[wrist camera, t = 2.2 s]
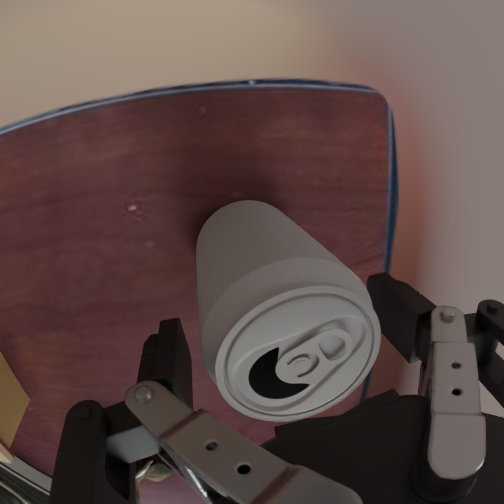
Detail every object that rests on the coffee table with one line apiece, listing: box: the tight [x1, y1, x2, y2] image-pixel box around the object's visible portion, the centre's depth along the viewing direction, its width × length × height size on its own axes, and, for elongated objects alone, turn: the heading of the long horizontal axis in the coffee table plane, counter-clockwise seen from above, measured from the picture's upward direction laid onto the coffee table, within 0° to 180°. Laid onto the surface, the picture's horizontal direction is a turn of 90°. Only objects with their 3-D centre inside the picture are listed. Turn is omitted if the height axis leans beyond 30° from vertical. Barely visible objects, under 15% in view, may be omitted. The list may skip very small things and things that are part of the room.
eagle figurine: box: [136, 460, 175, 504], centre depth 24 cm, size 8×7×9 cm
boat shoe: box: [0, 456, 52, 504], centre depth 21 cm, size 11×31×10 cm, turn 50°
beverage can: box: [196, 200, 381, 421], centre depth 15 cm, size 6×6×12 cm
